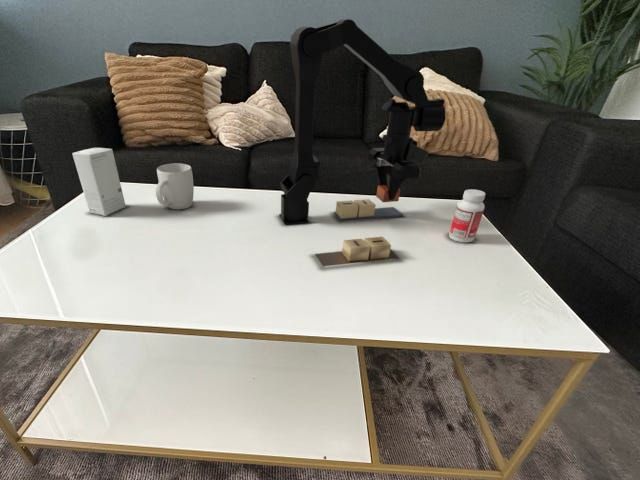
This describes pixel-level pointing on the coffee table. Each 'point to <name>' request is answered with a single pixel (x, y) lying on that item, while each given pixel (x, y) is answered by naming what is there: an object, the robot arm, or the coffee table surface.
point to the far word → (363, 210)
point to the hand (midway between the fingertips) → (387, 196)
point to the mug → (175, 185)
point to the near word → (359, 252)
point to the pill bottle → (467, 216)
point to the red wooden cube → (386, 194)
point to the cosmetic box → (99, 180)
